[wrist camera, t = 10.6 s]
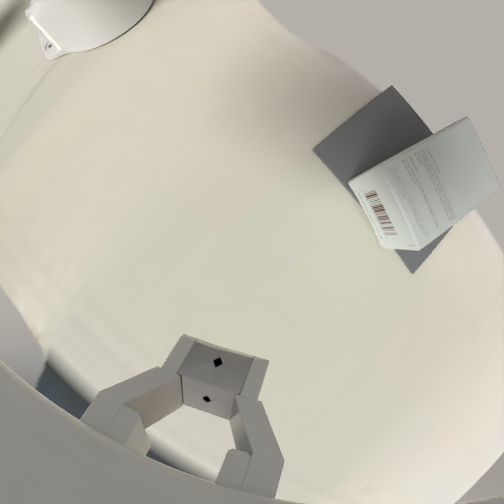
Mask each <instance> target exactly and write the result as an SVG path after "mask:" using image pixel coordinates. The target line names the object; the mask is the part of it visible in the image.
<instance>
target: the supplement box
mask: <svg viewBox="0 0 504 504" xmlns="http://www.w3.org/2000/svg"><path fill="white" fill-rule="evenodd" d="M348 184H349V186H350V187H351V189H352V190H353V192H354V193H355V195H356V197H357V199H358V200H359V202H360V204H361V206H362V208H363V210H364V212H365V214H366V216H367V217H368V219H369V221H370V223H371V225H372V227H373V229H374V231H375V234H376V236H377V238H378V240H379V243H380V247H382V248H390V249H402V250H416V251H417V250H418V251H419V250H421V249H422V248H424V247H425V246H426V245H428V244H429V243H430V242H432V241H433V240H434V239H436V238H437V237H438V236H440V235H441V234H442V233H444V232H445V231H446V230H448V229H449V228H450V227H451V226H453V225H454V224H455V223H457V222H458V221H459V220H460V219H462V218H463V217H464V216H465V215H467V214H468V213H469V212H470V211H472V210H473V209H474V208H475V207H477V206H478V205H479V204H480V203H481V202H483V201H484V200H485V199H486V198H487V197H488V196H490V195H491V194H492V193H493V192H494V191H495V190H497V189H498V188H499V186H500V184H499V182H498V180H497V177H496V175H495V172H494V170H493V167H492V165H491V163H490V160H489V158H488V156H487V153H486V151H485V149H484V147H483V145H482V143H481V141H480V139H479V137H478V135H477V133H476V131H475V129H474V127H473V125H472V123H471V121H470V119H469V118H468V117H464V118H463V119H461V120H459V121H457V122H455V123H453V124H451V125H449V126H448V127H446V128H444V129H442V130H440V131H438V132H437V133H435V134H433V135H431V136H429V137H427V138H426V139H424V140H422V141H420V142H418V143H416V144H415V145H413V146H411V147H409V148H407V149H405V150H404V151H402V152H400V153H398V154H396V155H394V156H393V157H391V158H389V159H387V160H385V161H384V162H382V163H380V164H378V165H376V166H374V167H373V168H371V169H369V170H367V171H365V172H364V173H362V174H360V175H358V176H356V177H355V178H353V179H351V180H350V181H349V182H348Z"/></svg>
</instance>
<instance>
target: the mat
mask: <svg viewBox="0 0 504 504" xmlns="http://www.w3.org/2000/svg"><path fill="white" fill-rule="evenodd" d="M431 135H433V133H432V132H431V131H430V130H429V128H428V127H427V126H426V125H425V123H424V122H423V121H422V120H421V118H420V117H419V116H418V114H417V113H416V112H415V111H414V110H413V109H412V107H411V106H410V105H409V104H408V103H407V102H406V100H405V99H404V98H403V97H402V96H401V95H400V94H399V93H398V92H397V90H396V89H395V88H394V87H393V86H392V85H391V86H390V87H389V88H387V89H386V90H385V91H384V92H382V93H381V94H380V95H379V96H377V97H376V98H375V99H374V100H372V101H371V102H370V103H369V104H367V105H366V106H365V107H364V108H363V109H361V110H360V111H359V112H358V113H356V114H355V115H354V116H353V117H352V118H350V119H349V120H348V121H347V122H345V123H344V124H343V125H342V126H341V127H339V128H338V129H337V130H336V131H335V132H333V133H332V134H331V135H330V136H329V137H327V138H326V139H325V140H324V141H323V142H322V143H320V144H319V145H318V146H317V147H316V148H314V149H313V152H314V153H315V154H316V155H317V156H318V157H319V158H320V159H321V160H322V161H323V162H324V164H325V165H326V166H327V167H328V168H329V169H330V170H331V171H332V173H333V174H334V175H335V176H336V177H337V178H338V179H339V181H340V182H341V183H342V184H343V185H344V186H345V188H346V189H347V190H348V191H349V192H350V193H351V195H352V196H353V197H354V198H355V199H356V201H357V202H358V203H359V204H360V202H359V200H358V199H357V197H356V195H355V193H354V192H353V190H352V189H351V187H350V186H349V184H348V182H349V181H350V180H351V179H353V178H355V177H356V176H358V175H360V174H362V173H364V172H365V171H367V170H369V169H371V168H373V167H374V166H376V165H378V164H380V163H382V162H384V161H385V160H387V159H389V158H391V157H393V156H394V155H396V154H398V153H400V152H402V151H404V150H405V149H407V148H409V147H411V146H413V145H415V144H416V143H418V142H420V141H422V140H424V139H426V138H427V137H429V136H431ZM360 206H361V204H360ZM361 207H362V206H361ZM451 228H452V226H451V227H450V228H449V229H448V230H446V231H445V232H444V233H442V234H441V235H440V236H438V237H437V238H436V239H434V240H433V241H432V242H430V243H429V244H428V245H426V246H425V247H424V248H422V249H421V250H419V251H418V250H417V251H416V250H402V249H394V250H395V251H396V252H397V254H398V255H399V256H400V258H401V259H402V261H403V262H404V263H405V265H406V266H407V268H408V269H409V271H410V272H411V273H414V272H415V271H416V270H417V269H418V268H419V266H420V265H421V264H422V263H423V262H424V261H425V259H426V258H427V257H428V256H429V255H430V254H431V252H432V251H433V250H434V249H435V248H436V246H437V245H438V244H439V243H440V241H441V240H442V239H443V238H444V236H445V235H446V234H447V233H448V231H449V230H450V229H451Z"/></svg>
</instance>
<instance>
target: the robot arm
mask: <svg viewBox="0 0 504 504" xmlns="http://www.w3.org/2000/svg"><path fill="white" fill-rule="evenodd" d="M152 2H153V0H30V7H29V8H28V9H26V10H25V12H24V13H25V15H26V16H27V18H28V19H29V21H30V22H31V23H33V22H34V24H35V25H36V26H37V29H38V33H39V37H40V41H41V44H42V48H43V51H44V55H45V56H46V58H47V59H48V60H53V59H55V58H58V57H60V56H62V55H64V54H66V53H71V52H81V51H86V50H90V49H93V48H96V47H99V46H101V45H103V44H105V43H107V42H109V41H111V40H113V39H115V38H117V37H118V36H120V35H121V34H123V33H124V32H126V31H127V30H128V29H130V28H131V27H132V26H133V25H134V24H136V23H137V22H138V21H139V20H140V19H141V18H142V17H143V16H144V14H145V13H146V12H147V11H148V9H149V8H150V6H151V4H152ZM268 363H269V360H265V359H262V358H258V357H255V356H252V355H249V354H245V353H241V352H238V351H234V350H231V349H227V348H223V347H220V346H217V345H214V344H211V343H208V342H205V341H203V340H200V339H197V338H194V337H191V336H188V335H186V334H183V335H182V336H181V337H180V338H179V340H178V342H177V343H176V345H175V346H174V348H173V350H172V351H171V353H170V354H169V356H168V358H167V359H166V361H165V362H164V364H163V365H162V367H158V366H157V367H155V368H152V369H150V370H148V371H146V372H143V373H141V374H139V375H137V376H134V377H132V378H130V379H128V380H125V381H123V382H121V383H118V384H116V385H114V386H111V387H109V388H107V389H104V390H102V391H100V392H99V393H98V395H97V396H96V397H95V399H94V400H93V401H92V403H91V404H90V406H89V407H88V408H87V410H86V411H85V413H84V414H83V416H82V417H81V418H80V420H78V419H77V418H75V417H74V416H72V415H70V414H69V413H67V412H66V411H64V410H63V409H62V408H60V407H59V406H57V405H56V404H54V403H53V402H51V401H50V400H49V399H47V398H46V397H45V396H43V395H42V394H41V393H39V392H38V391H37V390H35V389H34V388H33V387H31V386H30V385H29V384H27V383H26V382H25V381H24V380H23V379H22V378H20V377H19V376H18V375H17V374H16V373H14V372H13V371H12V370H11V369H10V368H9V367H7V366H6V365H5V364H4V363H3V362H2V361H1V360H0V504H303V503H297V502H291V501H285V500H280V499H275V495H276V491H277V487H278V484H279V480H280V476H281V472H282V468H283V464H284V458H283V456H282V453H281V451H280V448H279V446H278V443H277V441H276V438H275V436H274V433H273V430H272V428H271V425H270V423H269V420H268V417H267V415H266V412H265V409H264V407H263V404H262V402H261V401H258V400H257V399H258V396H259V393H260V390H261V387H262V383H263V380H264V377H265V373H266V370H267V367H268ZM183 404H184V405H187V406H190V407H193V408H196V409H199V410H202V411H205V412H208V413H210V414H213V415H216V416H219V417H222V418H225V419H228V420H230V425H231V429H232V433H233V437H234V441H235V445H236V449H231V450H229V451H228V452H227V454H226V457H225V459H224V462H223V464H222V467H221V469H220V472H219V474H218V477H217V479H216V482H215V483H213V482H210V481H207V480H204V479H201V478H198V477H196V476H193V475H190V474H187V473H185V472H182V471H179V470H177V469H174V468H172V467H169V466H167V465H165V464H162V463H160V462H158V461H155V460H153V459H151V458H149V457H146V454H147V452H148V450H149V448H150V446H151V444H150V442H149V439H148V436H147V434H146V431H145V429H146V428H147V427H149V426H151V425H152V424H154V423H156V422H157V421H159V420H161V419H162V418H164V417H165V416H167V415H169V414H170V413H172V412H173V411H175V410H177V409H178V408H180V407H181V406H183ZM456 504H504V498H503V497H501V496H492V497H487V498H483V499H478V500H473V501H468V502H463V503H456Z"/></svg>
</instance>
